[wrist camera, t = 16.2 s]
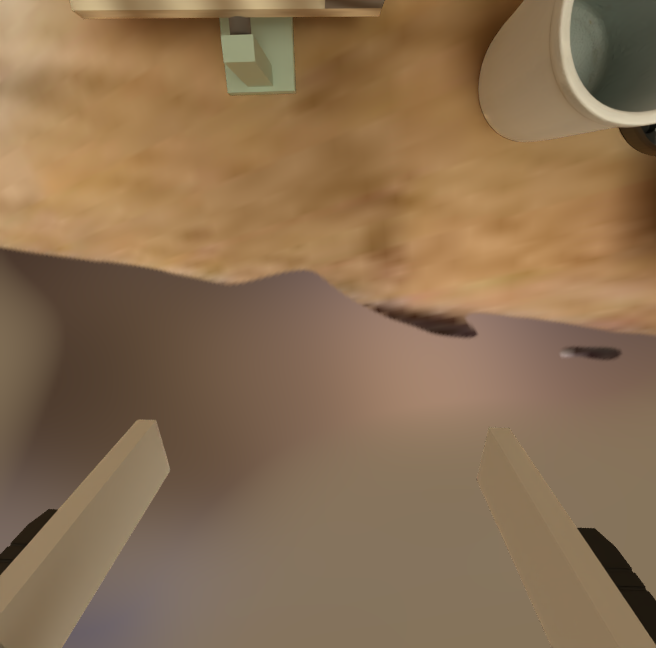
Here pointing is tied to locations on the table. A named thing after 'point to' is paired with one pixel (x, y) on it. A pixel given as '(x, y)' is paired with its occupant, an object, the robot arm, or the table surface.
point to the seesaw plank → (225, 9)
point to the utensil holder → (571, 69)
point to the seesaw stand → (260, 57)
